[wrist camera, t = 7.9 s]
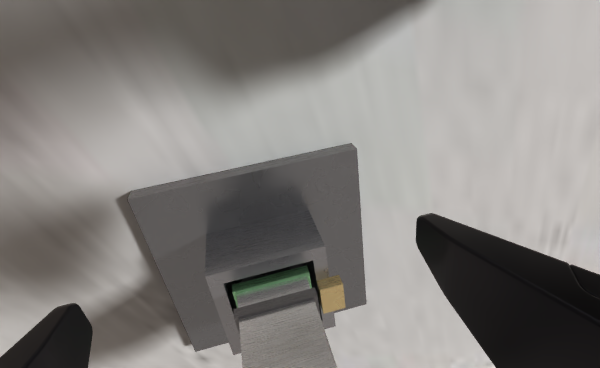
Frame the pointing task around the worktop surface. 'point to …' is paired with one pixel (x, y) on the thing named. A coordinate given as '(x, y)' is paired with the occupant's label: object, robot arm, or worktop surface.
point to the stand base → (256, 236)
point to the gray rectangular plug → (281, 322)
